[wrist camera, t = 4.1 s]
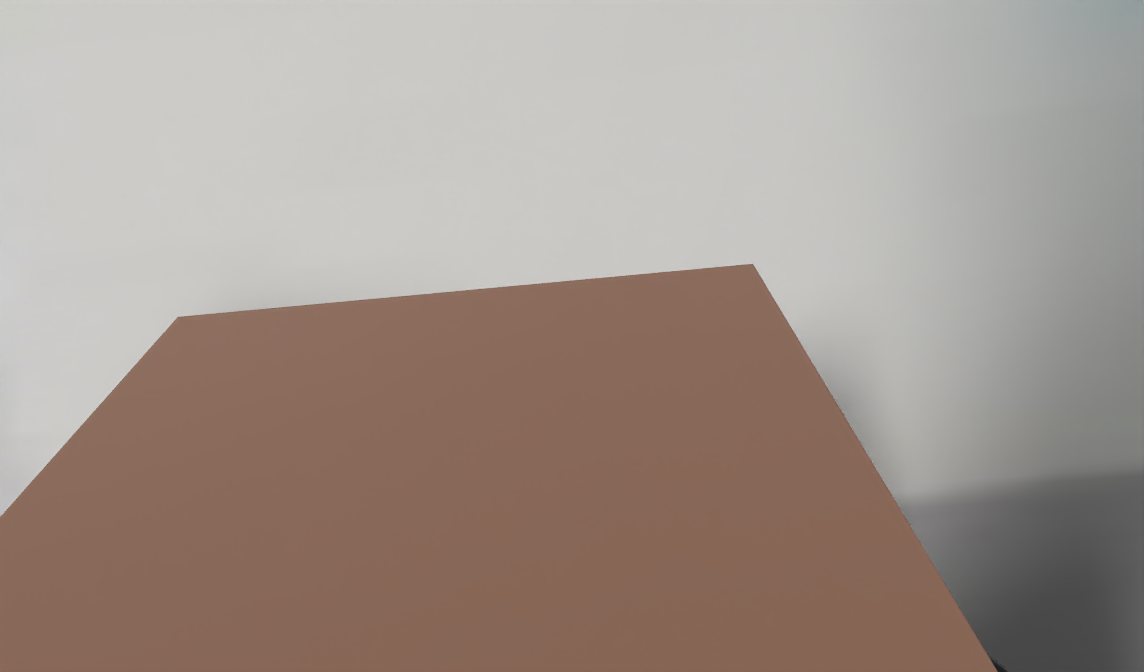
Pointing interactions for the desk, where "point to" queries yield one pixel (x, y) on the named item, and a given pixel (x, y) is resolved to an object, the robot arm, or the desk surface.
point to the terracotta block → (476, 497)
